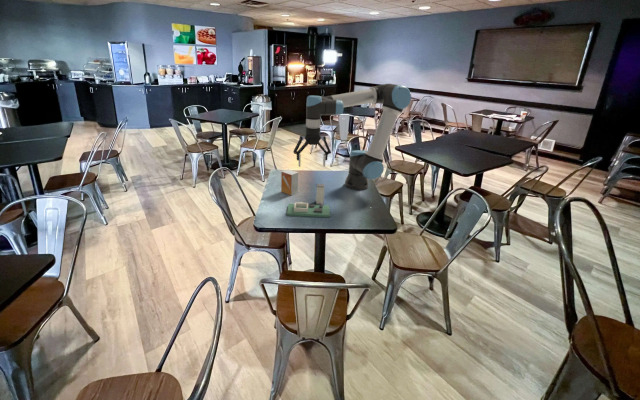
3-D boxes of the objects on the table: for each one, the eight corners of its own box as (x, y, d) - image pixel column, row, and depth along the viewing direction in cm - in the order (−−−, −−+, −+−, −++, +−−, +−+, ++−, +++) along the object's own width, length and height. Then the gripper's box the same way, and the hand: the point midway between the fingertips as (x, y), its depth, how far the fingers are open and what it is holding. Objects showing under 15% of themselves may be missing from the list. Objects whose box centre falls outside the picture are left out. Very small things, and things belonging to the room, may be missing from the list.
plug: (323, 201, 182) (324, 184, 178) (323, 204, 179) (324, 186, 174) (316, 200, 182) (317, 183, 178) (316, 203, 178) (317, 186, 174)
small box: (281, 192, 192) (281, 171, 186) (288, 189, 196) (288, 169, 191) (291, 195, 187) (291, 174, 182) (298, 192, 192) (298, 172, 187)
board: (329, 207, 175) (329, 201, 174) (329, 217, 164) (330, 210, 163) (288, 205, 174) (288, 199, 173) (286, 215, 163) (286, 209, 162)
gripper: (335, 125, 172) (332, 163, 181) (288, 125, 168) (288, 164, 177) (338, 128, 165) (335, 167, 174) (289, 128, 161) (289, 168, 170)
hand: (311, 166), depth 175 cm, fingers open, 13 cm apart
